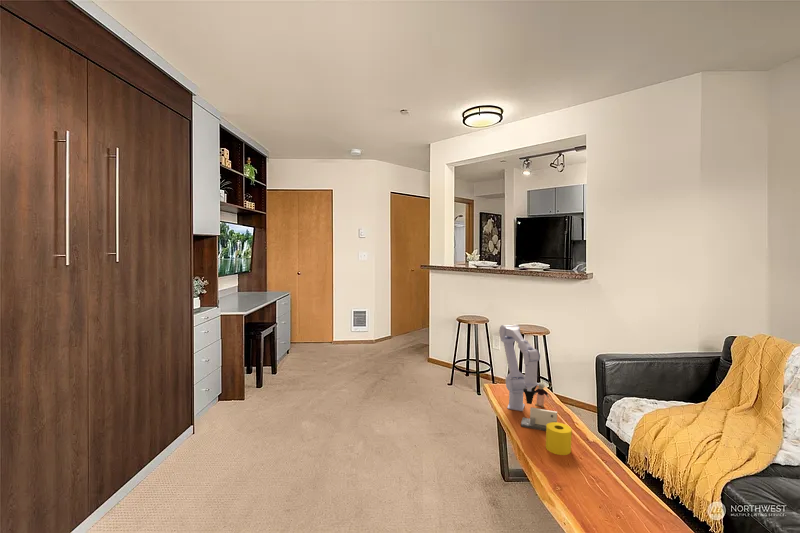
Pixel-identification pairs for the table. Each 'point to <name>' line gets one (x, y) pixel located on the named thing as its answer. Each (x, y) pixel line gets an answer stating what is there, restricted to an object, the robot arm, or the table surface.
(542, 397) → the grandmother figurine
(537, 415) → the cabinet door
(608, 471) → the table surface
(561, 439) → the tape roll
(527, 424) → the rail
